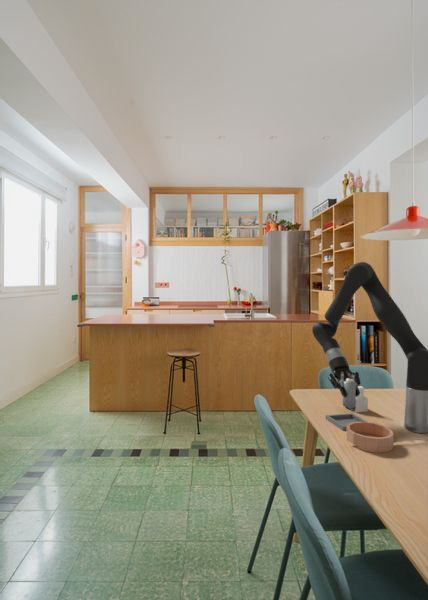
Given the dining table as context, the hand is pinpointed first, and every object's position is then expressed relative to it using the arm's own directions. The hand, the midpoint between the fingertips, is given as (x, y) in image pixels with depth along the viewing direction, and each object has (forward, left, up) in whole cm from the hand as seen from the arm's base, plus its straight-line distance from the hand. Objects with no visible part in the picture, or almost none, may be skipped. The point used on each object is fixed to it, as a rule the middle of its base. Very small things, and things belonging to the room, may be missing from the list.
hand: (351, 395), depth 163 cm
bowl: (+2, +15, -13) cm, 20 cm away
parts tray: (0, -2, -13) cm, 13 cm away
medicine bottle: (-14, -17, -13) cm, 26 cm away
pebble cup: (0, -2, -5) cm, 5 cm away
